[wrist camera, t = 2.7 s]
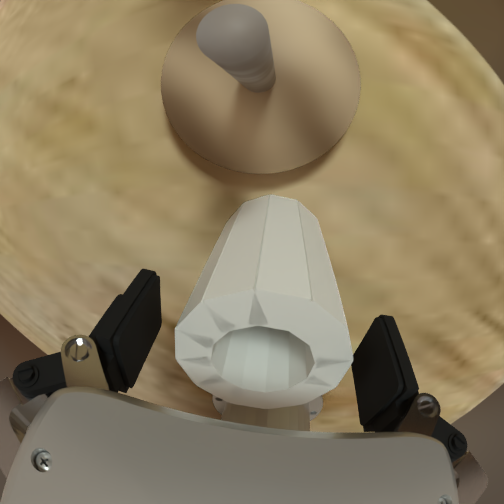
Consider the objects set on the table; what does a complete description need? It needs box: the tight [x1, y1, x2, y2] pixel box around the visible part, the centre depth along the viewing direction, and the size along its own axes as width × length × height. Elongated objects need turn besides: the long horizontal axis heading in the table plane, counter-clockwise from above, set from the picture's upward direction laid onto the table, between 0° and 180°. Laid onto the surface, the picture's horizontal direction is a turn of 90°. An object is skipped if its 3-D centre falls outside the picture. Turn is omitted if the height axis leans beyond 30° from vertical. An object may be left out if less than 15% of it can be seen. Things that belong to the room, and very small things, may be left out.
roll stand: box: [161, 0, 361, 174], centre depth 10 cm, size 12×12×10 cm
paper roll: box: [175, 194, 353, 409], centre depth 15 cm, size 7×7×11 cm
